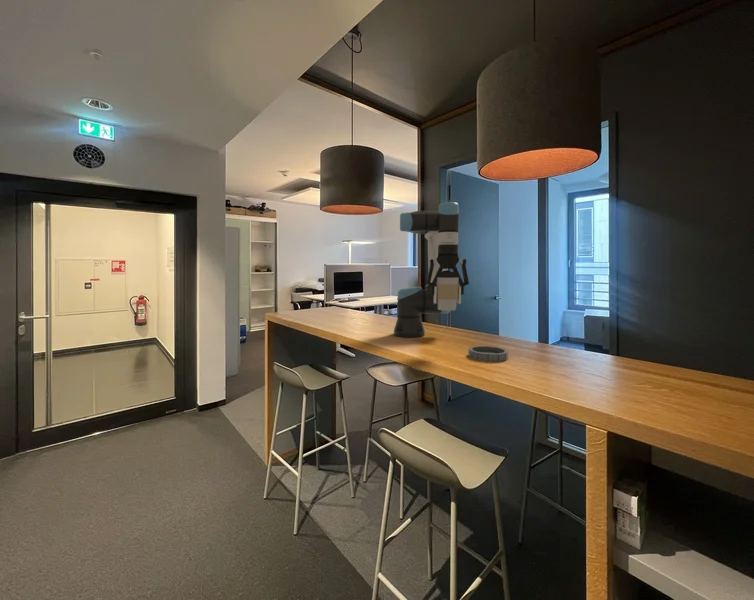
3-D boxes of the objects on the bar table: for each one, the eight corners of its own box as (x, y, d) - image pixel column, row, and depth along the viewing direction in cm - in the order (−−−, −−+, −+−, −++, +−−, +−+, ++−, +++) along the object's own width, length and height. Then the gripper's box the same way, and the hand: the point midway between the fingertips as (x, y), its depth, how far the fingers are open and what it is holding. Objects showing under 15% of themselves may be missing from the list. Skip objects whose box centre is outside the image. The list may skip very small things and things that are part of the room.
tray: (465, 352, 135) (465, 345, 135) (501, 352, 134) (501, 346, 134) (473, 361, 121) (473, 354, 121) (513, 361, 121) (513, 354, 121)
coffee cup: (461, 310, 131) (462, 270, 129) (436, 310, 131) (437, 270, 129) (456, 308, 140) (456, 270, 138) (433, 308, 140) (434, 270, 138)
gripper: (420, 243, 130) (420, 304, 132) (478, 243, 129) (477, 304, 131) (419, 245, 137) (418, 302, 139) (474, 244, 136) (472, 302, 138)
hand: (447, 303), depth 135 cm, fingers closed on coffee cup, 8 cm apart
